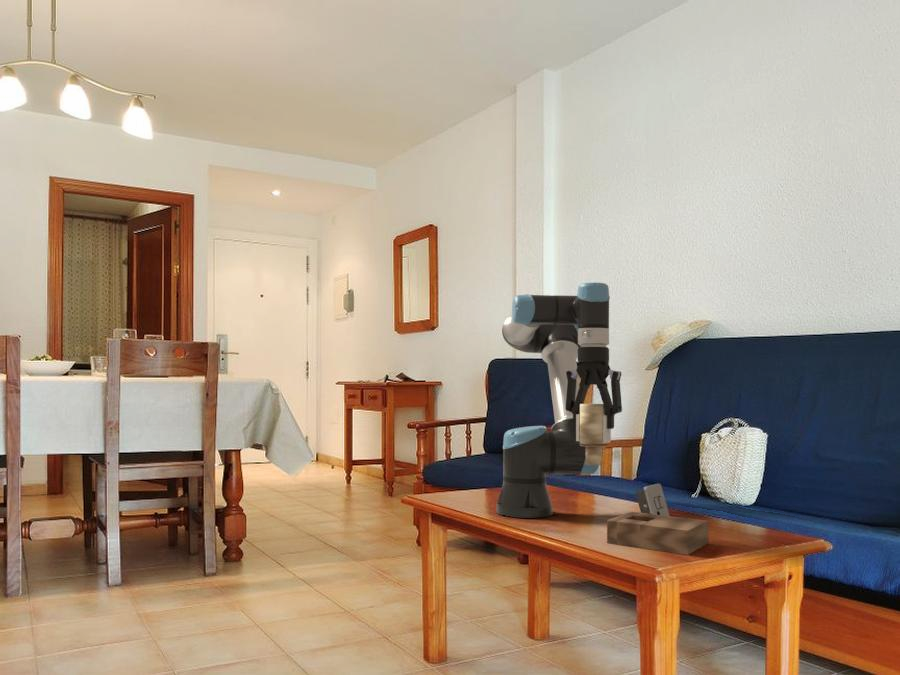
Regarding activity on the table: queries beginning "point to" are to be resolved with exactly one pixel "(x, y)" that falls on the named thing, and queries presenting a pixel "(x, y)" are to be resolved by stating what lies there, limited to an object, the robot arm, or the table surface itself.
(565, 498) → the table surface
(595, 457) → the leg peg
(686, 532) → the board
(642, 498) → the electrical switch
